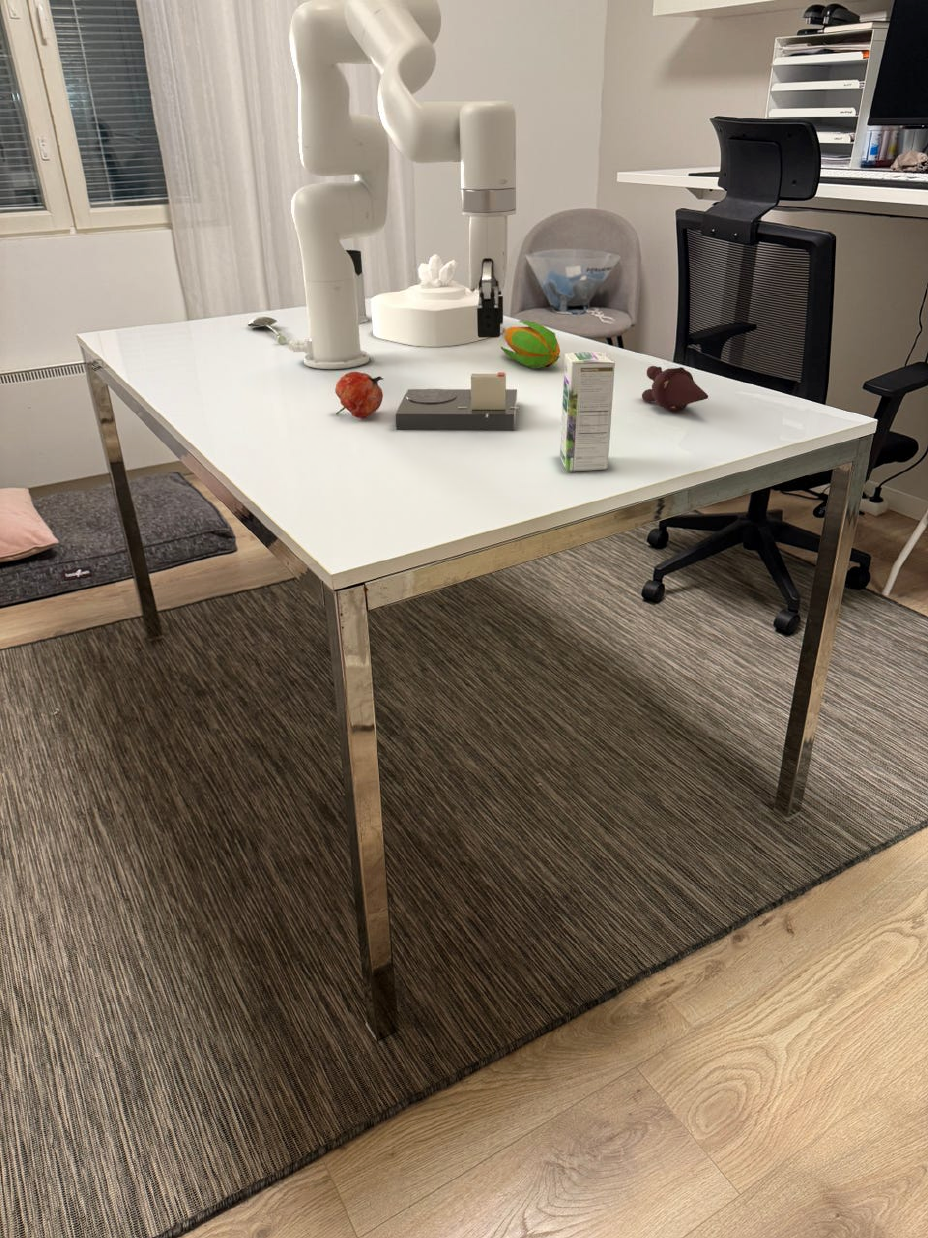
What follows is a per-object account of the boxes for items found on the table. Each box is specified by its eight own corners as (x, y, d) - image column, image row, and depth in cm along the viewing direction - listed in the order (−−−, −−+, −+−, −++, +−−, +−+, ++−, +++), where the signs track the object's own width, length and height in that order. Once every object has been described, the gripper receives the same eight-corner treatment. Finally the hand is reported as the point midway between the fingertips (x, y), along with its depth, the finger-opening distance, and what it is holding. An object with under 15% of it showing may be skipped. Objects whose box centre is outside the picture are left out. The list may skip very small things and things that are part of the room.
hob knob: (471, 409, 140) (470, 375, 138) (472, 406, 142) (471, 371, 140) (505, 409, 140) (505, 375, 137) (505, 406, 142) (506, 371, 139)
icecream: (731, 375, 140) (668, 364, 152) (694, 369, 136) (632, 358, 149) (719, 421, 142) (658, 406, 154) (683, 416, 138) (623, 401, 151)
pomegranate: (337, 436, 146) (380, 402, 140) (311, 396, 145) (354, 360, 140) (360, 428, 152) (403, 395, 147) (336, 389, 151) (378, 355, 146)
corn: (535, 331, 164) (489, 312, 180) (531, 375, 167) (487, 352, 184) (571, 330, 166) (523, 311, 183) (567, 373, 170) (520, 351, 186)
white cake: (440, 316, 217) (438, 242, 210) (518, 330, 202) (519, 252, 194) (357, 333, 202) (351, 255, 194) (435, 350, 186) (432, 266, 179)
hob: (394, 433, 139) (393, 415, 138) (408, 404, 153) (407, 388, 152) (518, 433, 138) (518, 416, 137) (521, 404, 152) (521, 388, 150)
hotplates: (403, 403, 144) (403, 402, 144) (410, 389, 151) (410, 388, 151) (505, 403, 143) (505, 402, 143) (507, 389, 150) (507, 388, 150)
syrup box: (558, 458, 128) (562, 352, 121) (600, 456, 128) (606, 350, 121) (566, 472, 123) (570, 362, 116) (609, 470, 123) (616, 360, 116)
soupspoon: (274, 327, 213) (246, 331, 211) (272, 312, 212) (243, 316, 210) (297, 342, 195) (267, 346, 193) (295, 325, 194) (264, 330, 192)
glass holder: (326, 324, 212) (319, 254, 205) (343, 312, 224) (337, 246, 217) (362, 324, 211) (357, 254, 204) (378, 312, 223) (374, 246, 216)
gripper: (466, 198, 135) (469, 319, 144) (456, 208, 120) (460, 342, 128) (517, 197, 135) (517, 318, 143) (514, 207, 120) (514, 342, 128)
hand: (490, 330), depth 136 cm, fingers open, 9 cm apart
